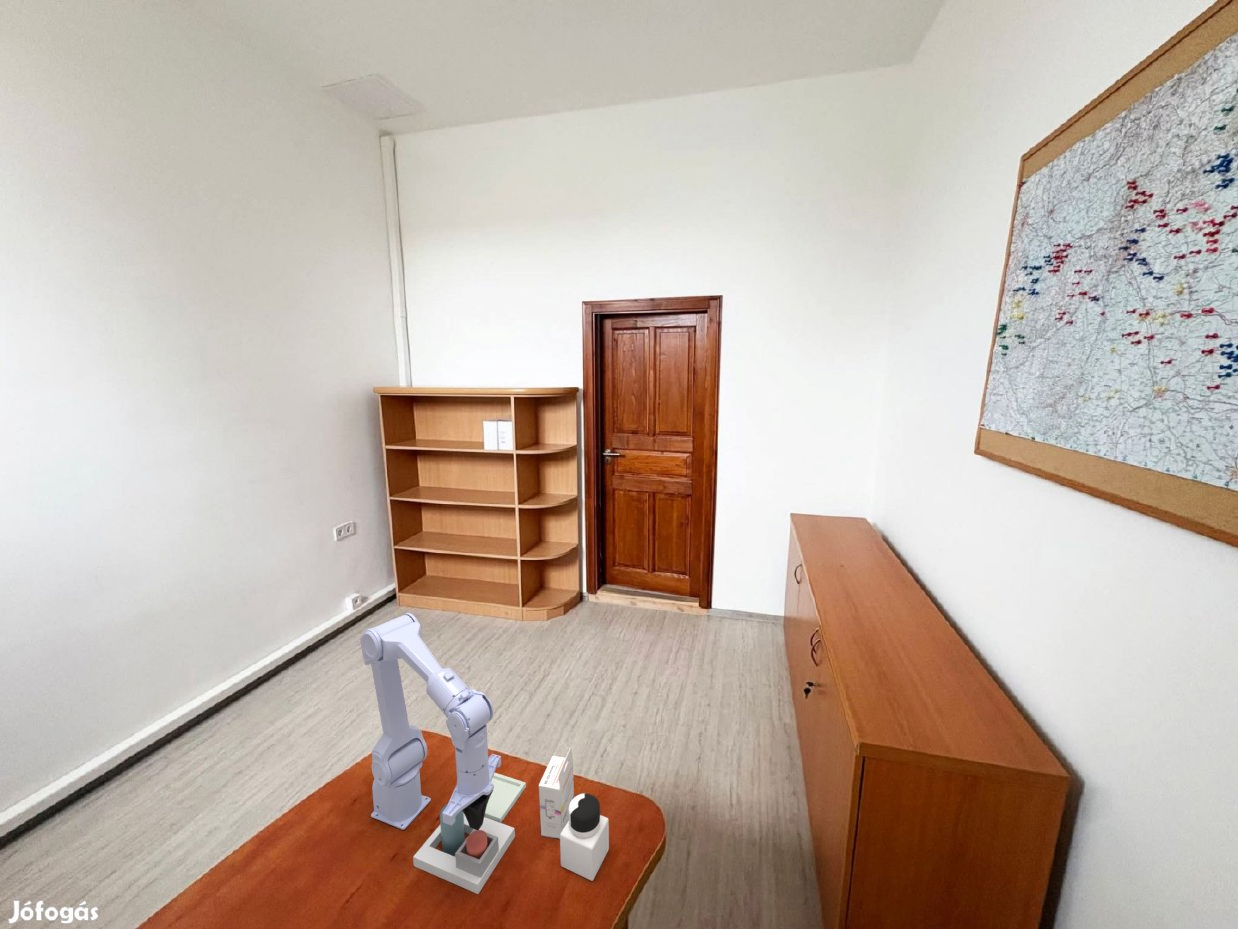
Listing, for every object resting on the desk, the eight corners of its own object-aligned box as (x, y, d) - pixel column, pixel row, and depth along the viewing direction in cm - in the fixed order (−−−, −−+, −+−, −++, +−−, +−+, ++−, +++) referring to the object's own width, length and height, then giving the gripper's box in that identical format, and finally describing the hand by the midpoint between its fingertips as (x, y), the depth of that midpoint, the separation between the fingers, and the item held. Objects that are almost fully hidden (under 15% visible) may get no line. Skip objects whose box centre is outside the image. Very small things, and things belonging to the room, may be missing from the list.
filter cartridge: (437, 852, 92) (434, 816, 91) (452, 833, 96) (450, 799, 95) (455, 860, 91) (453, 823, 90) (469, 840, 95) (467, 805, 94)
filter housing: (413, 866, 90) (412, 843, 89) (455, 814, 101) (454, 794, 100) (478, 894, 84) (476, 870, 84) (514, 836, 96) (513, 815, 95)
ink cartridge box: (553, 801, 104) (551, 742, 102) (574, 805, 103) (573, 745, 101) (539, 836, 96) (537, 772, 94) (562, 840, 95) (560, 776, 93)
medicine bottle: (609, 849, 93) (608, 795, 91) (592, 882, 86) (591, 825, 85) (578, 835, 96) (577, 783, 94) (560, 866, 89) (558, 811, 88)
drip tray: (462, 809, 102) (462, 804, 102) (489, 775, 111) (489, 771, 111) (500, 823, 99) (500, 818, 98) (525, 787, 108) (525, 782, 108)
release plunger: (462, 858, 88) (461, 845, 87) (475, 840, 91) (474, 827, 91) (479, 864, 86) (478, 851, 86) (491, 846, 90) (491, 833, 89)
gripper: (464, 798, 78) (468, 869, 80) (512, 739, 91) (515, 801, 93) (430, 786, 80) (435, 855, 82) (483, 731, 94) (486, 791, 96)
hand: (476, 826), depth 88 cm, fingers closed
